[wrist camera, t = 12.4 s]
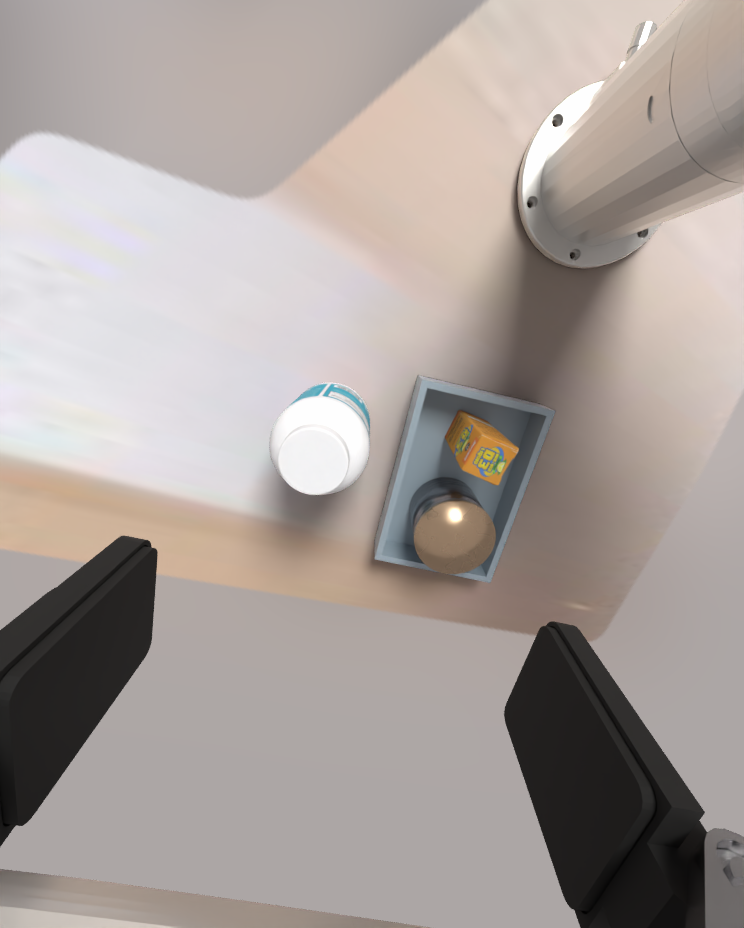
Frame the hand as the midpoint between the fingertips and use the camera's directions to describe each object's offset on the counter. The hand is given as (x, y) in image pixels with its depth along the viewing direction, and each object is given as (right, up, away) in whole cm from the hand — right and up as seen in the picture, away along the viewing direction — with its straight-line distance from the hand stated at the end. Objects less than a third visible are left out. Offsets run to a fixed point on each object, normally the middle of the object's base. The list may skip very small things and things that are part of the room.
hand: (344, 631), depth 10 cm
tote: (+9, +3, +31) cm, 32 cm away
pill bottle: (-3, +8, +29) cm, 31 cm away
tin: (+8, -1, +32) cm, 33 cm away
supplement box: (+10, +7, +29) cm, 31 cm away
